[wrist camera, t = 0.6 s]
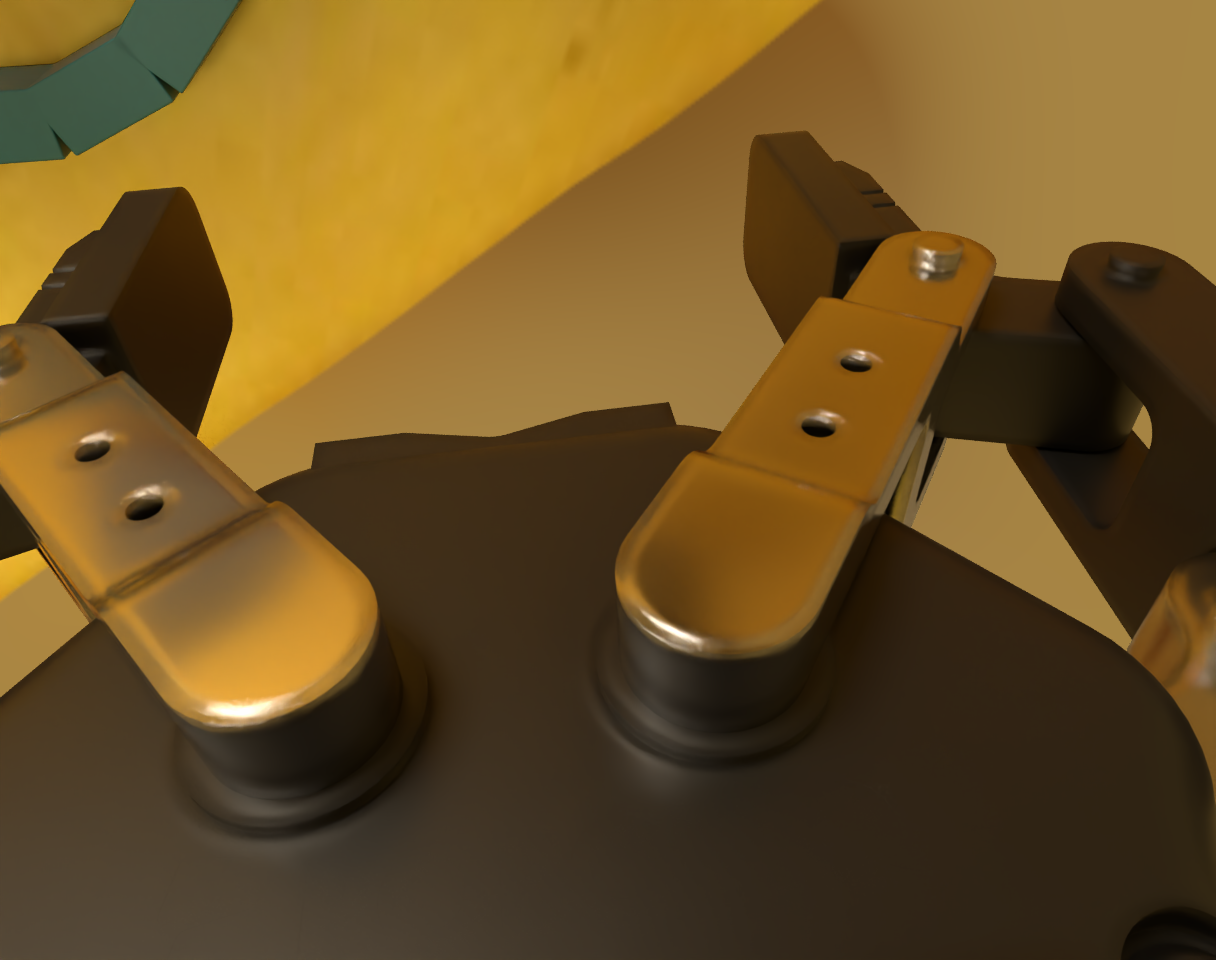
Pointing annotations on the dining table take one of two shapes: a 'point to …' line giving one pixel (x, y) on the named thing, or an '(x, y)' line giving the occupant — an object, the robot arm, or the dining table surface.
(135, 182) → the dining table surface
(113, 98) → the ring
